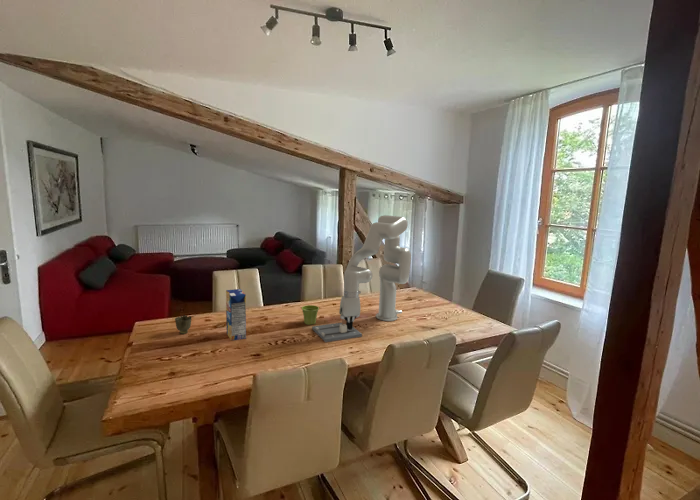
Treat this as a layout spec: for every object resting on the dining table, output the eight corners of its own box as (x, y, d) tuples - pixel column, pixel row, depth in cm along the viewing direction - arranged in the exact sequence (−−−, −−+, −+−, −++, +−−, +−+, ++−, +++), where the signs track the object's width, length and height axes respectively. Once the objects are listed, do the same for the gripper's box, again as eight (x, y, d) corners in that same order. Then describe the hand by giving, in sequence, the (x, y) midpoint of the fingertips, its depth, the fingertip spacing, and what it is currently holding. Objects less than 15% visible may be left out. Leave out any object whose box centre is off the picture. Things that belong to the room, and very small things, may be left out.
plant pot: (315, 326, 198) (316, 311, 197) (298, 325, 200) (299, 309, 198) (320, 321, 207) (321, 306, 206) (304, 319, 209) (304, 304, 208)
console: (346, 324, 204) (346, 320, 203) (361, 336, 188) (362, 331, 187) (312, 329, 195) (312, 324, 194) (325, 342, 179) (325, 337, 178)
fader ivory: (344, 330, 190) (345, 323, 189) (346, 332, 188) (347, 325, 187) (339, 331, 188) (339, 324, 188) (341, 332, 186) (341, 326, 186)
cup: (195, 331, 185) (194, 316, 184) (184, 336, 178) (183, 321, 177) (183, 329, 187) (182, 314, 186) (172, 334, 180) (171, 318, 179)
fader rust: (347, 323, 199) (347, 317, 199) (349, 325, 197) (349, 318, 196) (342, 324, 198) (342, 318, 197) (344, 326, 196) (344, 319, 195)
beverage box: (231, 340, 176) (231, 296, 172) (226, 332, 185) (226, 290, 182) (245, 338, 179) (245, 294, 176) (240, 330, 189) (240, 288, 185)
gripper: (360, 290, 193) (358, 324, 196) (334, 293, 186) (333, 328, 189) (367, 294, 186) (365, 329, 189) (340, 297, 180) (339, 333, 183)
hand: (349, 328), depth 189 cm, fingers closed
